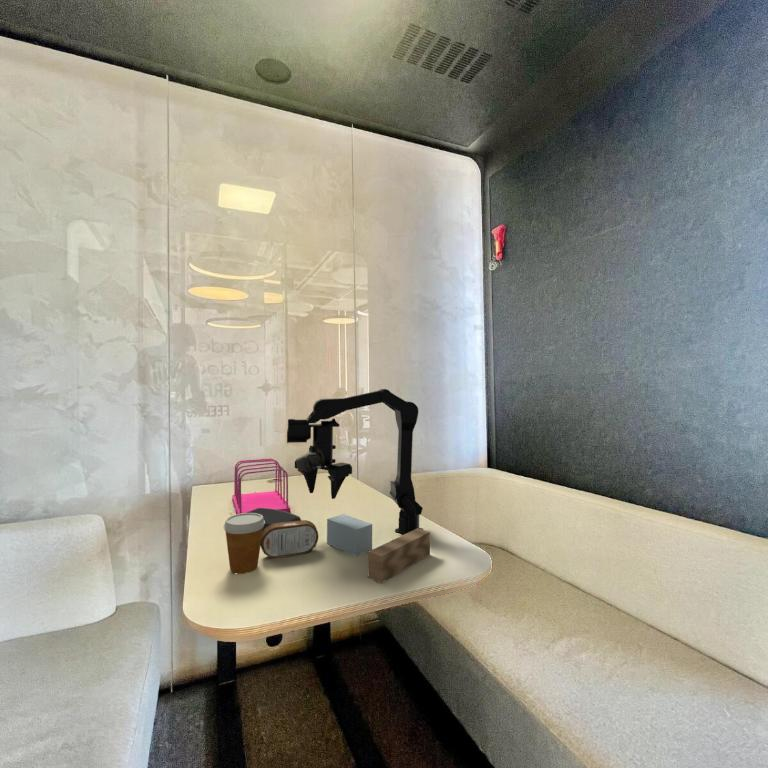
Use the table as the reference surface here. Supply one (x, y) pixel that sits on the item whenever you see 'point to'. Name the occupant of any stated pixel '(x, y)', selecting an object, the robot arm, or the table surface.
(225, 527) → the disposable coffee cup
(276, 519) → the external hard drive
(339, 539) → the block
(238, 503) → the file sorter
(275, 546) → the tin
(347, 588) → the table surface
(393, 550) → the batten
